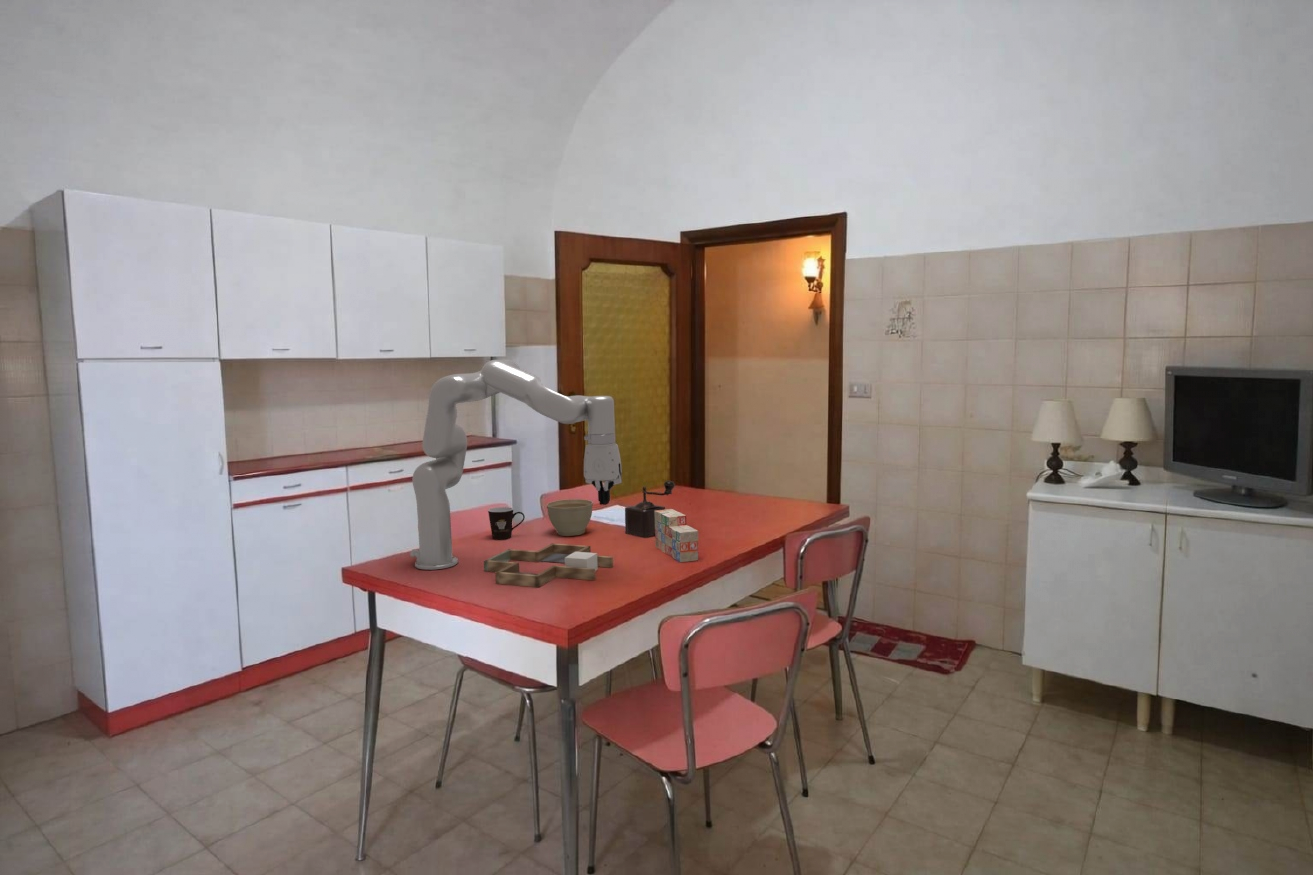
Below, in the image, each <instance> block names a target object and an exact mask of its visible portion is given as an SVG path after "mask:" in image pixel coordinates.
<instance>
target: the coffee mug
mask: <svg viewBox="0 0 1313 875" xmlns="http://www.w3.org/2000/svg"><path fill="white" fill-rule="evenodd" d="M487 513H488V519H489V525H490V531H491V537H492V540H493V541H495V540H496V541H505V540H509V539H511V538H512V533H513V531H514V529H516V528H518V527H519V526H520V525H521V524H522V523H523V522H524V520H525V519H526V518H525V514H524V513H523V512H522V511H517V512H514V507H510V506H498V507H491V508H488V510H487ZM518 514H521V515H522V520H521V521H520V522H518V523H517V524H516V525H515V526H513V520H514V518H515V517H516V515H518Z"/></svg>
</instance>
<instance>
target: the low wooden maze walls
mask: <svg viewBox="0 0 1313 875" xmlns="http://www.w3.org/2000/svg"><path fill="white" fill-rule="evenodd" d="M574 552H587V553H592V551H591V545H583V544H582V545H580V544H578V545H577V544H565V543H550V544H548V545H546V546H544V547H542V548H541V549H538V550H525V549H514V548H513V549H512V548H511V549H510V548H508V549H506V550H504V551H501V552H500V553H498V554H496V555H494V556H492V557H489V558H487V559H485V560H484V561H483V569H484V570H483V571H484V572H490V573H491V572H492V573H494V574H495V575H494V576H495V584H498V585H508V586H521V587H531V588H532V587H533V588H540V587H542V586H543V585H545V584H547V583H548V582H550V581H551V580H554V579H555V578H559V579H560V578H561V579H574V580H575V579H576V580H585V581H586V580H587V581H595V580H596V571H595V569H592V568H580V567H567V566H565V557H567V556H568V555H570V554H572V553H574ZM511 560H512V561H511ZM514 561H515V562H514ZM516 561H523V562H534V563H535V562H537V563H540V562H541V563H552V564H564V565H551V566H549V567H548V568H546V569H544V570H543V571H541V572H539V573H534V572H532V573H531V572H521V571H520V562H516ZM597 564H598V567H600V568H611V569H612V568H613V567H614V556H606V555H597Z"/></svg>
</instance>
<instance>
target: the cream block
mask: <svg viewBox="0 0 1313 875" xmlns="http://www.w3.org/2000/svg"><path fill="white" fill-rule="evenodd" d="M597 556H598V553H597V552H591V553H587V552H574V553H572V554H570V555H568V556H567V557H565V564H564V566H567V567H580V568H592V569H595V572H596V571H598V564H597Z"/></svg>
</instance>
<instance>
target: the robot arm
mask: <svg viewBox="0 0 1313 875" xmlns="http://www.w3.org/2000/svg"><path fill="white" fill-rule="evenodd" d="M520 367H521V366H519V365H518V364H517V363H516V362H515V361H513V360H511V359H506V358H505V359H502V358H501V359H492V360H489V361H487V362H486V363H485V364H484V365H483V367H482V368H481V370H479V371H475V372H469V373H455V374H450V375H446V376H443V377H441V378H439V379H438V380H437V381H435V383H434V384H433V385H432V387H431V390H430V392H429V397H428V407H427V414H426V418H425V424H424V431H423V436H422V443H421V444H422V450H423V453H424V454H425V455H426V456H427V457H428V458H433V460H429V461H425V462H424V463H421V464H420V465H419V466H417V467H416V468H415V470H414V471H413V474H412V480H411V481H412V487H413V490H414V494H415V495H414V496H415V500H416V510H417V511H416V512H417V513H416V514H417V528H418V531H417V532H418V548H419V549H416V548H413V549H411V552H409V557H411V558H416V561H415V562H414V567H415V568H417V569H418V570H419V569H420V570H427V571H429V570H431V571H433V570H441V569H443V570H444V569H447V568H451V567H454V566H456V565H457V564H458V563H459V560H458V557H456V556H453V542H452V541H453V539H452V538H453V537H452V523H451V522H452V521H451V508H450V507H451V506H450V505H451V504H450V500H449V497H448V495H447V491H446V490H448V489H450V488H453V487H455V486H457V484H458V483H459V482H460V481H461V478H462V476H463V472H464V468H465V460H466V455H467V448H468V436H467V433H466V432H465V430H464V428H463V427H461V426H460V425H458V424H457V417H458V410H457V404H462V403H471V402H472V403H473V402H478V401H482V400H486V399H487V398H491V397H492V396H494V395H497V394H501V393H502V394H504V395H506V396H508V397H510V398H513V399H515V400H517V401H519V402H522V403H524V404H525V405H527V407H529V408H530V409H532V410H533V411H534V412H536V413H539V414H540V415H542V416H544V417H546V418H549V419H551V420H553V421H556V422H558V423H560V424H565V425H570V424H575V423H580V422H584V421H587V429H588V430H587V432H588V433H587V435H584V438H583V439H584V441H587V443H588V444H585V449H584V458H583V477H584V480H585V483H586V484H589V485H592V486H593V487H594V488H595V489H596V491H597V496H598V499H597V500H598V502H599V505H600V506H601V505H602V506H606V505H608V504H610V501H611V489H612V488H613V486H616V485H620V484H622V482H623V481H622V474H623V472H622V471H623V470H622V460H621V453H620V449H619V445H618V444H617V443H616V426H615V424H616V423H615V422H616V421H615V418H616V417H615V400H614V398H613V397H612V396H610V395H594V396H587V395H581V394H580V395H577V394H576V395H570V396H567V395H563V394H561V393H559V392H557V391H554V390H552V389H550V388H548V387H546V385H544V384H543V383H542V382H541V378H540V377H539V376H538V375H536V374H532V373H531V372H528V371H527V370H524V369H521V368H520Z"/></svg>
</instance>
